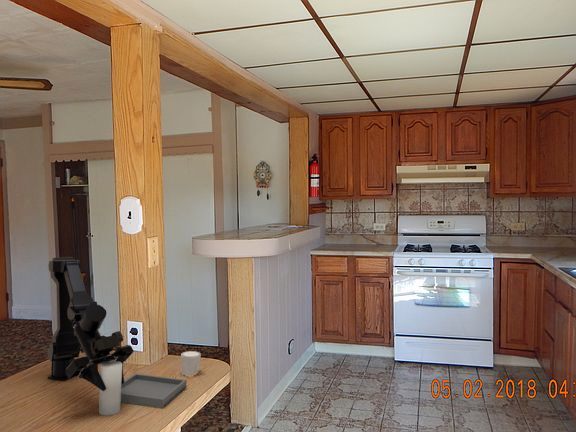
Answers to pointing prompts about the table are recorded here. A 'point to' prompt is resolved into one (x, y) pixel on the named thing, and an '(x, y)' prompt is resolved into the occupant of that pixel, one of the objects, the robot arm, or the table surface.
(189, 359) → the shot glass
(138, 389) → the tray
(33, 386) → the table surface
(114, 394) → the candle
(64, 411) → the table surface
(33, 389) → the table surface
